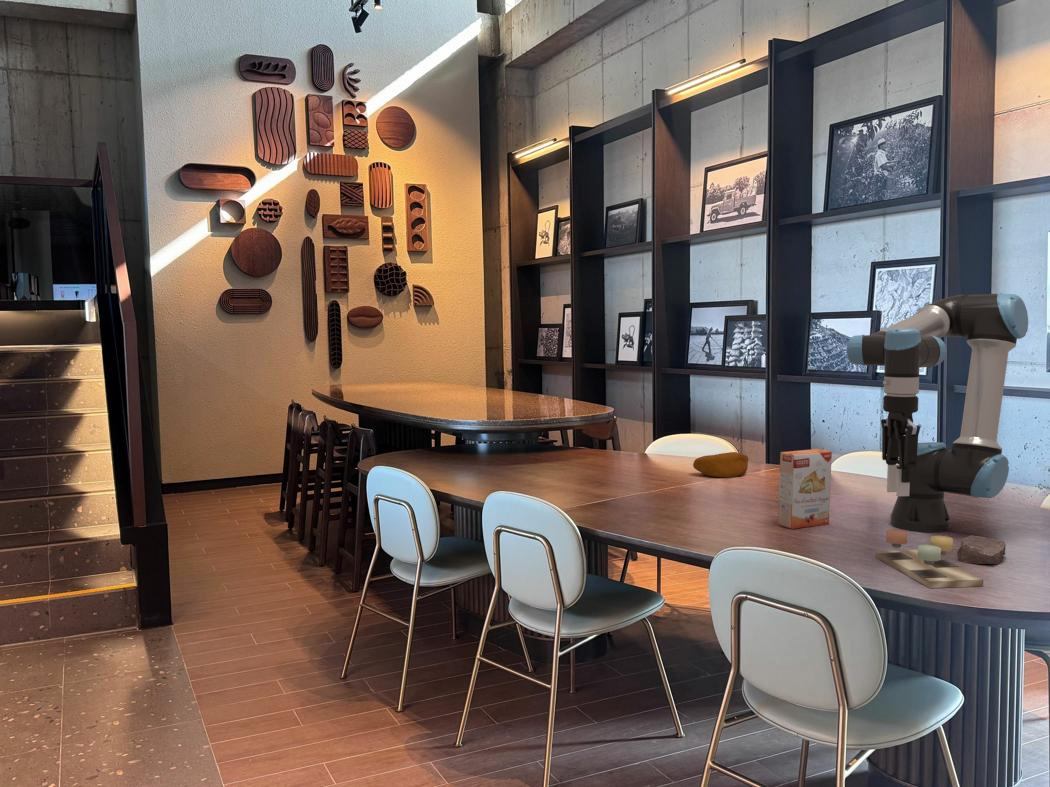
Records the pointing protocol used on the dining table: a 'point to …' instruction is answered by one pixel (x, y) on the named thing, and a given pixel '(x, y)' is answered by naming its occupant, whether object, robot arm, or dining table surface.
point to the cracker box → (804, 488)
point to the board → (929, 570)
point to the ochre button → (942, 543)
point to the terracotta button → (896, 537)
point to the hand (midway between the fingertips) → (897, 493)
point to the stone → (981, 550)
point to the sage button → (929, 553)
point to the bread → (722, 464)
